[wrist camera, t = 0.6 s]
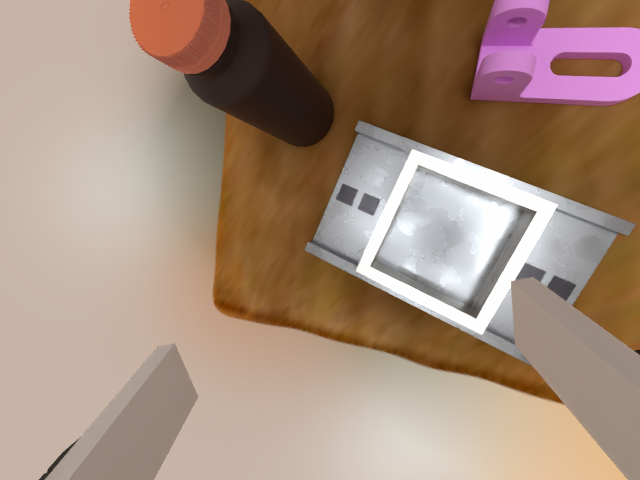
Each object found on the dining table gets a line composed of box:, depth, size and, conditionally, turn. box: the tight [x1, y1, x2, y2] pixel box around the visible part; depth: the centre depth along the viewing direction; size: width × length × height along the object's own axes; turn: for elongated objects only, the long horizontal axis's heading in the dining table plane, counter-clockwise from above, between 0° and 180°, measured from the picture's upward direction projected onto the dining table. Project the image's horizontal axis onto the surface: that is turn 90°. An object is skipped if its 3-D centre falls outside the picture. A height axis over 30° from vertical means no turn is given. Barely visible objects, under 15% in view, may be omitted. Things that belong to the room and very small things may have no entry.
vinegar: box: [129, 0, 333, 147], centre depth 26 cm, size 7×7×20 cm
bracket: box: [470, 0, 640, 106], centre depth 25 cm, size 13×6×7 cm, turn 81°
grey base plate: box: [305, 121, 636, 366], centre depth 30 cm, size 14×24×4 cm, turn 66°
